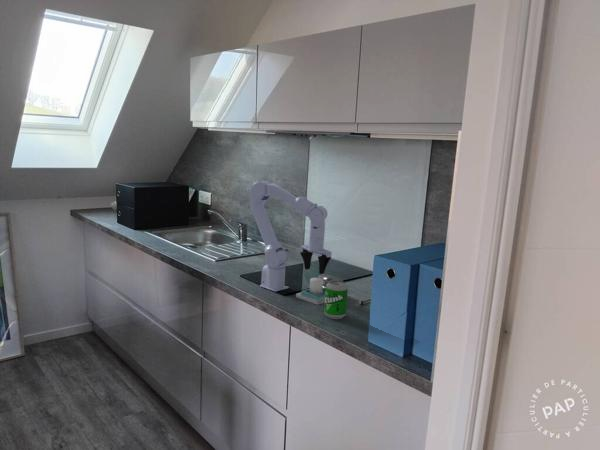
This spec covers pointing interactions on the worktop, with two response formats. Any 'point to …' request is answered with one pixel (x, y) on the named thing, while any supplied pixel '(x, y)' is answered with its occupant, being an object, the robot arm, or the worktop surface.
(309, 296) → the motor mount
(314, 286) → the grey rounded piece
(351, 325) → the worktop surface
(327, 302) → the soda can
